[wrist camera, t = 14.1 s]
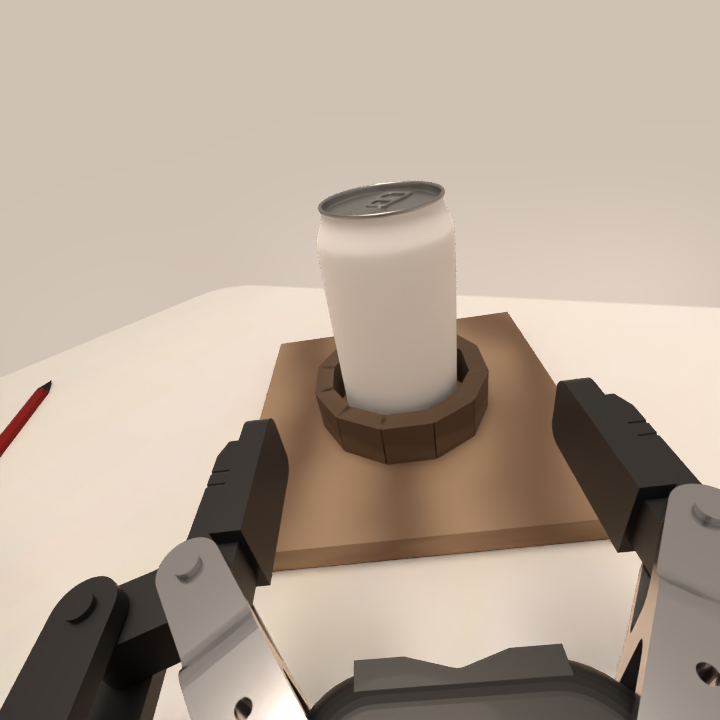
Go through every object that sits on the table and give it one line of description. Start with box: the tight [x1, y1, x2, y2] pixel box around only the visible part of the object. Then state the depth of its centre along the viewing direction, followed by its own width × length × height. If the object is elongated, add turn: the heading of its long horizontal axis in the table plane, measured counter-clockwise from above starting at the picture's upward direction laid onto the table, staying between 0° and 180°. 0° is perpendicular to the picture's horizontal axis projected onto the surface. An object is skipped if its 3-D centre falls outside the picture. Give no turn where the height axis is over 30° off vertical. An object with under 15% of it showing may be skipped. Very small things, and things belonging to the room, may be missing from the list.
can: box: [316, 181, 457, 415], centre depth 22 cm, size 6×6×12 cm
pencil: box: [0, 380, 52, 457], centre depth 31 cm, size 1×14×1 cm, turn 11°
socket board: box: [260, 312, 610, 571], centre depth 25 cm, size 18×18×4 cm
